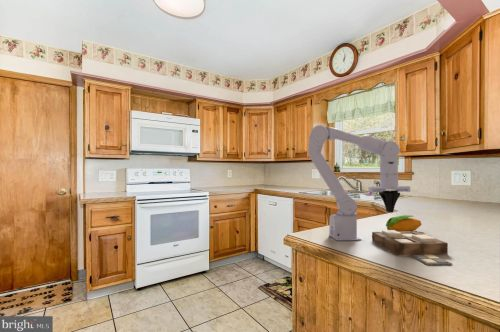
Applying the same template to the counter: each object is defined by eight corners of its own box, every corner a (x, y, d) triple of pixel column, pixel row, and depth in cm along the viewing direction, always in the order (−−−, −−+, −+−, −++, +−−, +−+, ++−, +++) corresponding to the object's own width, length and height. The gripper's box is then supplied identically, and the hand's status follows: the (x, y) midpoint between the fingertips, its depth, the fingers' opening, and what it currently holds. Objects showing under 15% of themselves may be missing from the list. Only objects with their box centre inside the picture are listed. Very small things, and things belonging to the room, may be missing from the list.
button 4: (421, 245, 78) (421, 238, 78) (411, 240, 83) (411, 234, 83) (435, 244, 79) (435, 238, 79) (424, 240, 83) (424, 234, 83)
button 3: (407, 243, 85) (407, 237, 85) (399, 239, 89) (399, 233, 89) (420, 242, 85) (420, 236, 85) (411, 239, 89) (411, 233, 89)
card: (427, 265, 69) (427, 263, 69) (410, 256, 76) (410, 254, 76) (452, 265, 69) (452, 262, 69) (432, 256, 76) (432, 254, 76)
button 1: (389, 239, 84) (389, 233, 84) (381, 235, 89) (381, 230, 89) (402, 239, 85) (402, 233, 85) (393, 235, 89) (393, 230, 89)
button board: (396, 255, 76) (396, 243, 76) (372, 241, 90) (372, 232, 90) (447, 254, 77) (447, 243, 77) (415, 241, 91) (415, 231, 91)
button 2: (401, 249, 78) (401, 243, 78) (392, 245, 82) (392, 239, 82) (415, 249, 78) (415, 242, 78) (406, 245, 83) (405, 238, 83)
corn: (380, 215, 100) (410, 210, 110) (379, 233, 101) (409, 228, 110) (399, 219, 94) (429, 214, 103) (397, 239, 94) (427, 233, 104)
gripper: (375, 175, 88) (376, 214, 88) (415, 174, 89) (416, 213, 88) (365, 174, 95) (366, 210, 95) (402, 174, 96) (403, 209, 96)
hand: (389, 211), depth 92 cm, fingers closed
